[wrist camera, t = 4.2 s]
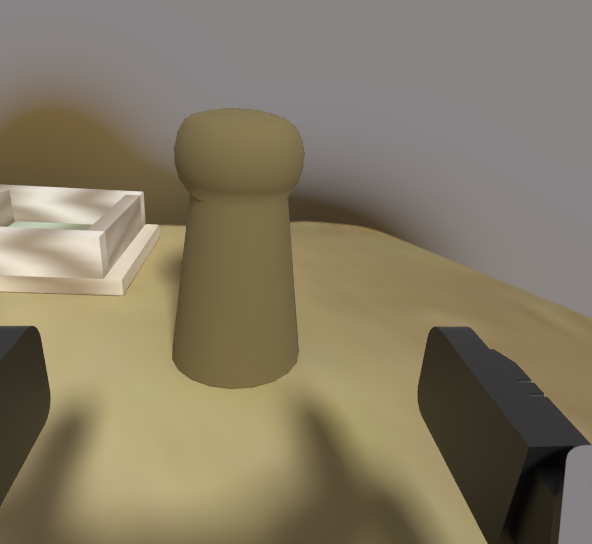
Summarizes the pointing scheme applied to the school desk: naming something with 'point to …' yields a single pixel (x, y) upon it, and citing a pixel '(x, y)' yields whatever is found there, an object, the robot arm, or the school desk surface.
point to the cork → (237, 248)
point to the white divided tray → (72, 239)
